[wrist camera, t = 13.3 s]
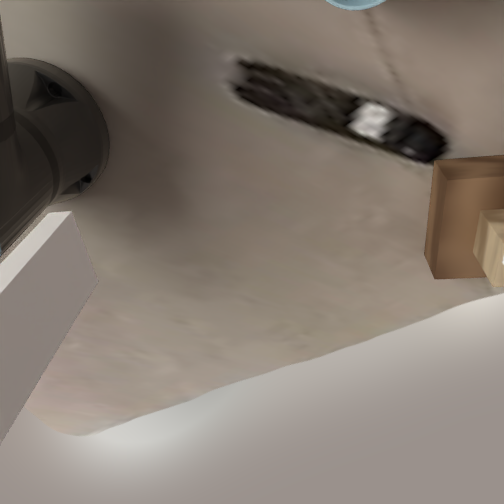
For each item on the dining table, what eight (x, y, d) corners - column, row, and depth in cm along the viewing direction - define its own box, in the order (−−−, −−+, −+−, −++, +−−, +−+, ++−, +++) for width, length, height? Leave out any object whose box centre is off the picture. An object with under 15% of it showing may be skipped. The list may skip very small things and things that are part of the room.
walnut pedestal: (424, 254, 54) (434, 279, 50) (434, 160, 48) (447, 180, 43) (531, 248, 53) (551, 274, 48) (557, 150, 46) (582, 170, 42)
